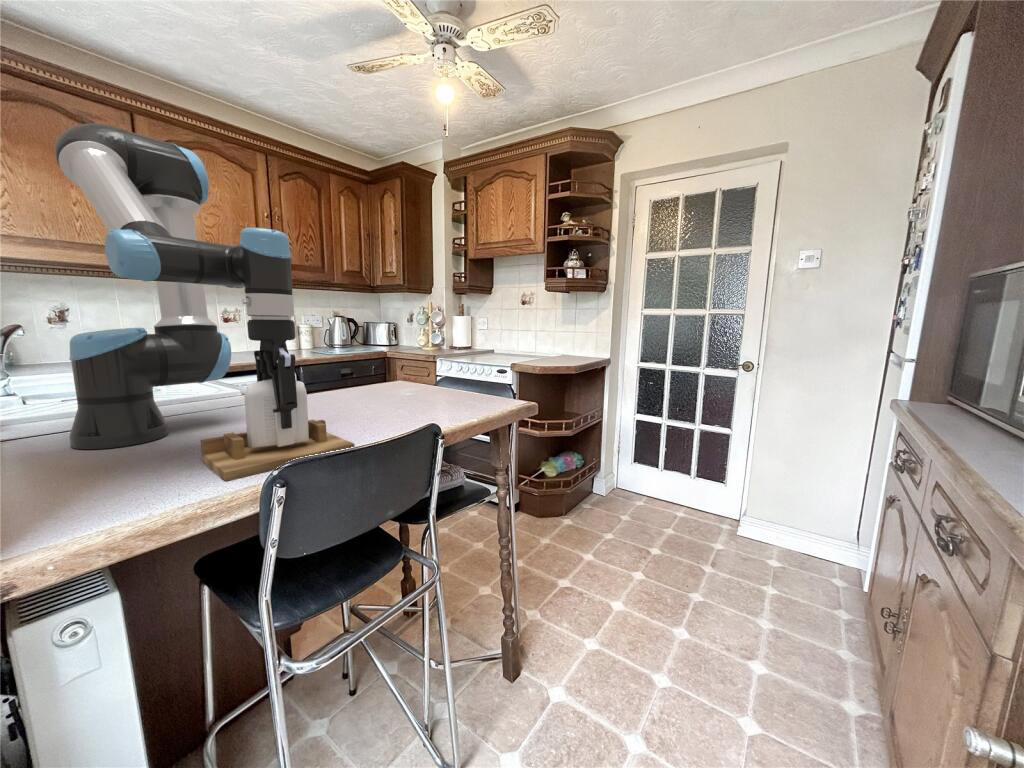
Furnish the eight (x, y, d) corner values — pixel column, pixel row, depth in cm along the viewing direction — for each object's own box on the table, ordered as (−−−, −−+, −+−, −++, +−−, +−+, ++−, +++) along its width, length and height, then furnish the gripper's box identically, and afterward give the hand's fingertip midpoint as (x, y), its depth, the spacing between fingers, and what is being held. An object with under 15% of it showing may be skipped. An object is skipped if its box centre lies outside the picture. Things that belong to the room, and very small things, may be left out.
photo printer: (307, 436, 84) (303, 376, 82) (311, 441, 80) (307, 378, 78) (247, 444, 78) (242, 379, 76) (248, 450, 74) (242, 382, 73)
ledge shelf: (202, 461, 75) (199, 434, 75) (323, 437, 92) (322, 415, 91) (225, 481, 66) (222, 451, 66) (354, 450, 83) (353, 426, 82)
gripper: (232, 317, 79) (242, 436, 82) (266, 318, 67) (276, 457, 70) (275, 318, 84) (282, 429, 88) (313, 319, 72) (320, 447, 76)
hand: (279, 441), depth 79 cm, fingers closed on photo printer, 5 cm apart
